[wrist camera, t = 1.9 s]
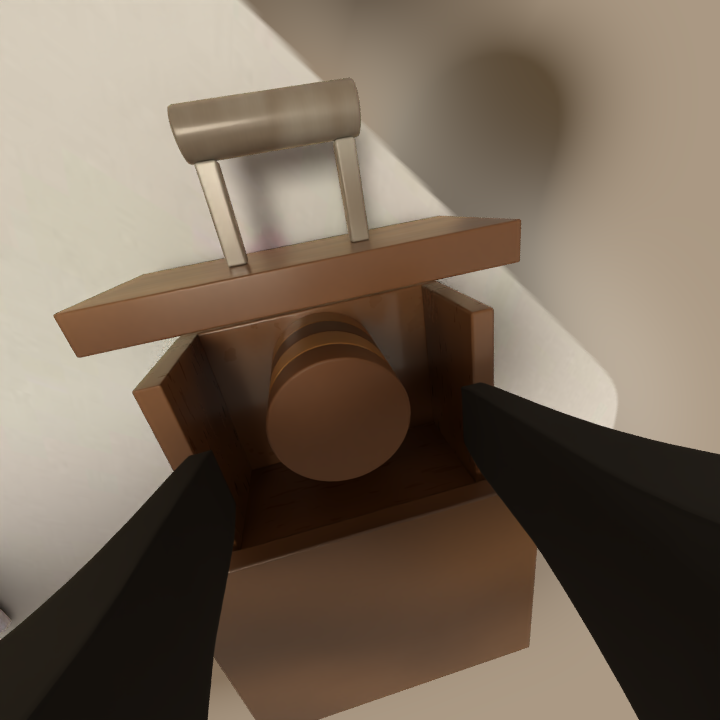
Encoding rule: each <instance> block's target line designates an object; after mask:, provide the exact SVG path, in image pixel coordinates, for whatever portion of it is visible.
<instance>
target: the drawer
mask: <svg viewBox="0 0 720 720" xmlns="http://www.w3.org/2000/svg"><path fill="white" fill-rule="evenodd" d="M168 118H169V122H170V126H171V129H172V132H173V135H174V138H175V140H176V143H177V145H178V147H179V149H180V151H181V153H182V155H183V157H184V158H185V160H186V161H187V162H188V163H189V164H191V165H195V168H196V171H197V174H198V177H199V180H200V183H201V186H202V189H203V192H204V195H205V198H206V201H207V204H208V208H209V211H210V214H211V217H212V220H213V223H214V226H215V229H216V232H217V235H218V238H219V241H220V244H221V247H222V250H223V253H224V256H225V258H223V259H218V260H213V261H208V262H203V263H198V264H193V265H188V266H183V267H178V268H173V269H168V270H163V271H158V272H153V273H148V274H143V275H141V276H139V277H136V278H134V279H132V280H130V281H127V282H125V283H123V284H121V285H118V286H116V287H114V288H112V289H109V290H107V291H105V292H103V293H101V294H98V295H96V296H94V297H92V298H89V299H87V300H85V301H83V302H80V303H78V304H76V305H74V306H71V307H69V308H67V309H65V310H62V311H60V312H58V313H56V314H54V318H55V320H56V322H57V323H58V325H59V327H60V328H61V330H62V332H63V334H64V335H65V337H66V339H67V341H68V342H69V344H70V346H71V348H72V349H73V351H74V353H75V354H76V356H77V357H79V358H80V357H85V356H90V355H94V354H99V353H104V352H108V351H113V350H117V349H122V348H127V347H131V346H136V345H140V344H145V343H149V342H154V341H159V340H163V339H168V338H172V337H177V336H180V337H179V338H178V339H177V340H176V341H175V342H174V343H173V345H172V346H171V347H170V348H169V349H168V350H167V352H166V353H165V354H164V355H163V356H162V357H161V359H160V360H159V361H158V362H157V363H156V364H155V366H154V367H153V368H152V369H151V370H150V371H149V373H148V374H147V375H146V376H145V377H144V378H143V380H142V381H141V382H140V383H139V384H138V385H137V387H136V388H135V389H134V390H133V391H132V393H133V395H134V397H135V399H136V401H137V403H138V404H139V406H140V408H141V410H142V412H143V414H144V416H145V418H146V420H147V422H148V423H149V425H150V427H151V429H152V431H153V433H154V435H155V437H156V439H157V441H158V442H159V444H160V446H161V448H162V450H163V452H164V454H165V456H166V458H167V459H168V461H169V463H170V465H171V467H172V469H173V471H175V470H176V468H177V467H178V466H179V465H180V464H181V463H182V462H183V461H184V460H185V459H186V458H187V457H188V456H190V455H194V454H198V453H202V452H206V451H210V450H212V452H213V454H214V456H215V458H216V461H217V463H218V465H219V467H220V470H221V472H222V474H223V476H224V478H225V481H226V483H227V485H228V487H229V490H230V492H231V494H232V496H233V498H234V501H235V503H236V517H235V535H234V544H233V550H232V552H234V551H237V550H241V549H244V548H248V547H251V546H255V545H258V544H262V543H265V542H269V541H272V540H276V539H279V538H283V537H286V536H290V535H293V534H297V533H300V532H304V531H307V530H311V529H314V528H318V527H321V526H325V525H328V524H332V523H335V522H339V521H342V520H346V519H349V518H353V517H356V516H360V515H363V514H367V513H370V512H374V511H377V510H381V509H384V508H388V507H391V506H395V505H398V504H402V503H405V502H409V501H412V500H416V499H419V498H423V497H426V496H430V495H433V494H437V493H440V492H444V491H447V490H451V489H454V488H458V487H461V486H465V485H468V484H472V483H475V482H479V481H482V480H485V477H484V476H483V474H482V473H481V472H480V470H479V468H478V467H477V465H476V463H475V462H474V460H473V458H472V456H471V455H470V453H469V451H468V449H467V447H466V446H465V444H464V436H463V415H462V395H461V387H463V386H467V385H471V384H475V383H479V382H482V383H485V384H488V385H491V386H494V310H493V308H491V307H489V306H487V305H485V304H483V303H481V302H479V301H477V300H475V299H473V298H471V297H468V296H466V295H464V294H462V293H460V292H458V291H456V290H454V289H452V288H450V287H448V286H446V285H443V284H441V283H439V282H437V281H435V280H438V279H443V278H448V277H452V276H457V275H461V274H466V273H470V272H475V271H480V270H484V269H489V268H493V267H498V266H503V265H507V264H512V263H516V262H519V261H520V238H521V220H520V219H505V218H479V217H454V216H436V217H431V218H426V219H421V220H415V221H410V222H405V223H400V224H395V225H390V226H385V227H380V228H375V229H370V230H368V225H367V218H366V211H365V204H364V198H363V191H362V184H361V177H360V171H359V164H358V157H357V151H356V144H355V139H354V138H355V137H357V136H359V133H360V127H361V113H360V104H359V97H358V92H357V88H356V85H355V83H354V81H353V79H351V78H343V79H337V80H330V81H323V82H317V83H310V84H303V85H297V86H290V87H283V88H277V89H270V90H263V91H257V92H250V93H243V94H237V95H230V96H223V97H217V98H210V99H203V100H196V101H190V102H183V103H176V104H170V105H169V106H168ZM331 141H334V143H333V148H334V154H335V160H336V165H337V171H338V177H339V183H340V189H341V194H342V200H343V206H344V212H345V218H346V223H347V229H348V234H345V235H340V236H335V237H330V238H325V239H319V240H314V241H309V242H304V243H299V244H294V245H289V246H284V247H279V248H274V249H269V250H264V251H259V252H254V253H249V254H246V251H245V247H244V244H243V241H242V237H241V234H240V231H239V228H238V224H237V221H236V218H235V214H234V211H233V208H232V204H231V201H230V198H229V194H228V191H227V188H226V184H225V181H224V178H223V174H222V171H221V168H220V164H219V163H218V162H217V161H218V160H224V159H230V158H236V157H242V156H248V155H254V154H260V153H266V152H272V151H278V150H284V149H290V148H296V147H302V146H307V145H313V144H319V143H325V142H331ZM319 312H333V313H339V314H343V315H346V316H348V317H350V318H352V319H354V320H356V321H357V322H358V323H360V324H361V325H362V326H363V327H364V328H365V329H366V330H367V332H368V333H369V334H370V336H371V337H372V339H373V341H374V342H375V344H376V345H377V347H378V348H379V350H380V351H381V353H382V354H383V356H384V357H385V359H386V360H387V362H388V363H389V365H390V366H391V368H392V369H393V371H394V372H395V374H396V376H397V377H398V379H399V380H400V382H401V383H402V385H403V387H404V388H405V390H406V393H407V395H408V398H409V403H410V412H411V414H410V423H409V427H408V431H407V434H406V436H405V438H404V440H403V442H402V444H401V445H400V447H399V448H398V450H397V451H396V452H395V453H394V454H393V455H392V457H391V458H389V459H388V460H387V461H386V462H385V463H384V464H382V465H381V466H380V467H378V468H376V469H375V470H373V471H371V472H369V473H367V474H365V475H363V476H360V477H357V478H353V479H349V480H343V481H319V480H314V479H310V478H307V477H304V476H301V475H299V474H297V473H295V472H294V471H292V470H290V469H289V468H288V467H286V466H285V465H284V464H283V463H282V462H281V461H280V460H279V459H278V458H277V456H276V455H275V453H274V452H273V450H272V448H271V446H270V444H269V441H268V437H267V432H266V416H267V407H268V397H269V387H270V378H271V368H272V358H273V352H274V348H275V346H276V343H277V341H278V339H279V337H280V336H281V335H282V333H283V332H284V331H285V330H286V329H287V328H288V327H289V326H290V325H291V324H292V323H294V322H295V321H297V320H298V319H300V318H302V317H304V316H307V315H310V314H314V313H319Z"/></svg>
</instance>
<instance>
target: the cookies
mask: <svg viewBox="0 0 720 720" xmlns="http://www.w3.org/2000/svg"><path fill="white" fill-rule="evenodd" d="M410 414H411V412H410V403H409V398H408V395H407V393H406V390H405V388H404V387H403V385H402V383H401V382H400V380H399V379H398V377H397V376H396V374H395V372H394V371H393V369H392V368H391V366H390V365H389V363H388V362H387V360H386V359H385V357H384V356H383V354H382V353H381V351H380V350H379V348H378V347H377V345H376V344H375V342H374V341H373V339H372V337H371V336H370V334H369V333H368V332H367V330H366V329H365V328H364V327H363V326H362V325H361V324H360V323H358V322H357V321H356V320H354V319H352V318H350V317H348V316H346V315H343V314H339V313H333V312H319V313H314V314H310V315H307V316H304V317H302V318H300V319H298V320H297V321H295V322H294V323H292V324H291V325H290V326H289V327H288V328H287V329H286V330H285V331H284V332H283V333H282V335H281V336H280V337H279V339H278V341H277V343H276V346H275V348H274V352H273V358H272V368H271V378H270V387H269V397H268V407H267V416H266V432H267V437H268V441H269V444H270V446H271V448H272V450H273V452H274V453H275V455H276V456H277V458H278V459H279V460H280V461H281V462H282V463H283V464H284V465H285V466H286V467H288V468H289V469H290V470H292V471H294V472H295V473H297V474H299V475H301V476H304V477H307V478H310V479H314V480H319V481H343V480H349V479H353V478H357V477H360V476H363V475H365V474H367V473H369V472H371V471H373V470H375V469H376V468H378V467H380V466H381V465H382V464H384V463H385V462H386V461H387V460H388V459H389V458H391V457H392V455H393V454H394V453H395V452H396V451H397V450H398V448H399V447H400V445H401V444H402V442H403V440H404V438H405V436H406V434H407V431H408V427H409V423H410Z"/></svg>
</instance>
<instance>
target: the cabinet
mask: <svg viewBox="0 0 720 720" xmlns="http://www.w3.org/2000/svg"><path fill="white" fill-rule="evenodd" d="M536 555H537V546H536V545H535V544H534V542H533V541H532V539H531V538H530V537H529V535H528V534H527V533H526V531H525V530H524V529H523V527H522V526H521V525H520V523H519V522H518V521H517V519H516V518H515V517H514V516H513V514H512V513H511V512H510V510H509V509H508V508H507V506H506V505H505V504H504V502H503V501H502V500H501V498H500V497H499V496H498V495H497V493H496V492H495V491H494V489H493V488H492V487H491V485H490V484H489V483H488V481H487V480H486V479H485V480H482V481H479V482H475V483H472V484H468V485H465V486H461V487H458V488H454V489H451V490H447V491H444V492H440V493H437V494H433V495H430V496H426V497H423V498H419V499H416V500H412V501H409V502H405V503H402V504H398V505H395V506H391V507H388V508H384V509H381V510H377V511H374V512H370V513H367V514H363V515H360V516H356V517H353V518H349V519H346V520H342V521H339V522H335V523H332V524H328V525H325V526H321V527H318V528H314V529H311V530H307V531H304V532H300V533H297V534H293V535H290V536H286V537H283V538H279V539H276V540H272V541H269V542H265V543H262V544H258V545H255V546H251V547H248V548H244V549H241V550H237V551H234V552H232V556H231V561H230V567H229V572H228V578H227V583H226V588H225V594H224V599H223V604H222V610H221V615H220V620H219V626H218V631H217V637H216V644H215V650H214V658H215V660H216V661H217V663H218V664H219V666H220V667H221V669H222V670H223V672H224V673H225V674H226V676H227V678H228V679H229V681H230V682H231V684H232V685H233V687H234V688H235V690H236V691H237V693H238V694H239V696H240V697H241V699H242V700H243V702H244V703H245V705H246V706H247V708H248V709H249V711H250V712H251V714H252V715H253V717H254V718H255V720H319V719H321V718H324V717H327V716H330V715H333V714H336V713H339V712H342V711H345V710H348V709H351V708H353V707H356V706H359V705H362V704H365V703H368V702H371V701H373V700H377V699H380V698H382V697H385V696H388V695H391V694H394V693H397V692H400V691H403V690H406V689H409V688H411V687H414V686H417V685H420V684H423V683H426V682H429V681H432V680H435V679H437V678H440V677H443V676H446V675H449V674H452V673H455V672H458V671H461V670H464V669H466V668H469V667H472V666H475V665H478V664H481V663H484V662H487V661H490V660H493V659H496V658H498V657H501V656H504V655H507V654H510V653H513V652H516V651H519V650H521V649H524V648H527V647H529V642H530V630H531V617H532V606H533V605H532V604H533V593H534V580H535V568H536Z"/></svg>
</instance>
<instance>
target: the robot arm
mask: <svg viewBox="0 0 720 720" xmlns="http://www.w3.org/2000/svg"><path fill="white" fill-rule="evenodd" d="M461 395H462V415H463V436H464V444H465V446H466V447H467V449H468V451H469V453H470V455H471V456H472V458H473V460H474V462H475V463H476V465H477V467H478V468H479V470H480V472H481V473H482V474H483V476H484V477H485V479H486V480H487V481H488V483H489V484H490V485H491V487H492V488H493V489H494V491H495V492H496V493H497V495H498V496H499V497H500V498H501V500H502V501H503V502H504V504H505V505H506V506H507V508H508V509H509V510H510V512H511V513H512V514H513V516H514V517H515V518H516V519H517V521H518V522H519V523H520V525H521V526H522V527H523V529H524V530H525V531H526V533H527V534H528V535H529V537H530V538H531V539H532V541H533V542H534V544H535V545H536V546H537V548H538V549H539V551H540V552H541V553H542V555H543V557H544V558H545V559H546V561H547V563H548V564H549V566H550V568H551V569H552V571H553V572H554V574H555V576H556V577H557V579H558V580H559V582H560V583H561V585H562V587H563V588H564V590H565V592H566V593H567V595H568V597H569V598H570V600H571V602H572V603H573V605H574V607H575V608H576V610H577V611H578V613H579V615H580V617H581V618H582V620H583V622H584V623H585V625H586V627H587V628H588V630H589V632H590V633H591V635H592V637H593V638H594V640H595V642H596V644H597V645H598V647H599V649H600V651H601V652H602V654H603V656H604V658H605V660H606V661H607V663H608V665H609V666H610V668H611V670H612V672H613V673H614V675H615V677H616V679H617V681H618V682H619V684H620V686H621V688H622V689H623V691H624V693H625V695H626V697H627V698H628V700H629V702H630V704H631V706H632V708H633V710H634V711H635V713H636V715H637V717H638V719H639V720H720V454H715V453H710V452H706V451H701V450H696V449H691V448H686V447H682V446H677V445H672V444H667V443H664V442H659V441H655V440H651V439H647V438H643V437H639V436H636V435H632V434H628V433H625V432H621V431H617V430H614V429H610V428H607V427H604V426H600V425H597V424H594V423H591V422H588V421H585V420H582V419H579V418H576V417H573V416H570V415H567V414H564V413H561V412H559V411H556V410H553V409H550V408H548V407H545V406H543V405H540V404H537V403H535V402H532V401H530V400H527V399H525V398H522V397H519V396H517V395H514V394H512V393H509V392H507V391H504V390H502V389H499V388H497V387H494V386H491V385H488V384H485V383H482V382H479V383H475V384H471V385H467V386H463V387H461ZM235 517H236V503H235V501H234V498H233V496H232V494H231V492H230V490H229V487H228V485H227V483H226V481H225V478H224V476H223V474H222V472H221V470H220V467H219V465H218V463H217V461H216V458H215V456H214V454H213V452H212V450H210V451H206V452H202V453H198V454H194V455H190V456H188V457H187V458H186V459H185V460H184V461H183V462H182V463H181V464H180V465H179V466H178V467H177V468H176V470H175V471H174V472H173V473H172V474H171V475H170V476H169V477H168V478H167V479H166V480H165V482H164V483H163V484H162V485H161V486H160V487H159V488H158V489H157V490H156V492H155V493H154V494H153V495H152V496H151V497H150V498H149V499H148V500H147V501H146V502H145V504H144V505H143V506H142V507H141V508H140V509H139V510H138V511H137V512H136V513H135V515H134V516H133V517H132V518H131V519H130V520H129V521H128V522H127V523H126V524H125V525H124V526H123V527H122V528H121V529H120V530H119V531H118V532H117V533H116V534H115V535H114V536H113V537H112V538H111V539H110V540H109V541H108V542H107V543H106V544H105V546H104V547H103V548H102V549H101V550H100V551H99V552H98V553H97V554H96V555H95V556H94V557H93V558H92V559H91V560H90V561H89V562H88V563H87V564H86V565H85V566H84V567H83V568H82V569H80V570H79V571H78V572H77V573H76V574H75V575H74V576H73V577H72V578H71V579H70V580H69V581H68V582H67V583H66V584H65V585H63V586H62V587H61V588H60V589H59V590H58V591H57V592H56V593H55V594H53V595H52V596H51V597H50V598H49V599H48V600H47V601H46V602H45V603H43V604H42V605H41V606H40V607H39V608H38V609H37V610H36V611H35V612H33V613H32V614H31V615H30V616H29V617H28V618H27V619H25V620H24V621H23V622H22V623H21V624H19V625H18V626H17V627H16V628H15V629H13V630H12V631H11V632H10V633H9V634H7V635H6V636H5V637H4V638H2V639H1V640H0V720H208V707H209V698H210V688H211V677H212V666H213V657H214V650H215V644H216V637H217V631H218V626H219V620H220V615H221V610H222V604H223V599H224V594H225V588H226V583H227V578H228V572H229V567H230V561H231V556H232V550H233V544H234V535H235ZM10 623H11V619H10V618H9V617H8V616H7V615H6V614H5V613H4V612H3V611H2V610H1V609H0V632H3V631H5V630H6V629H7V628H8V626H9V625H10Z"/></svg>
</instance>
